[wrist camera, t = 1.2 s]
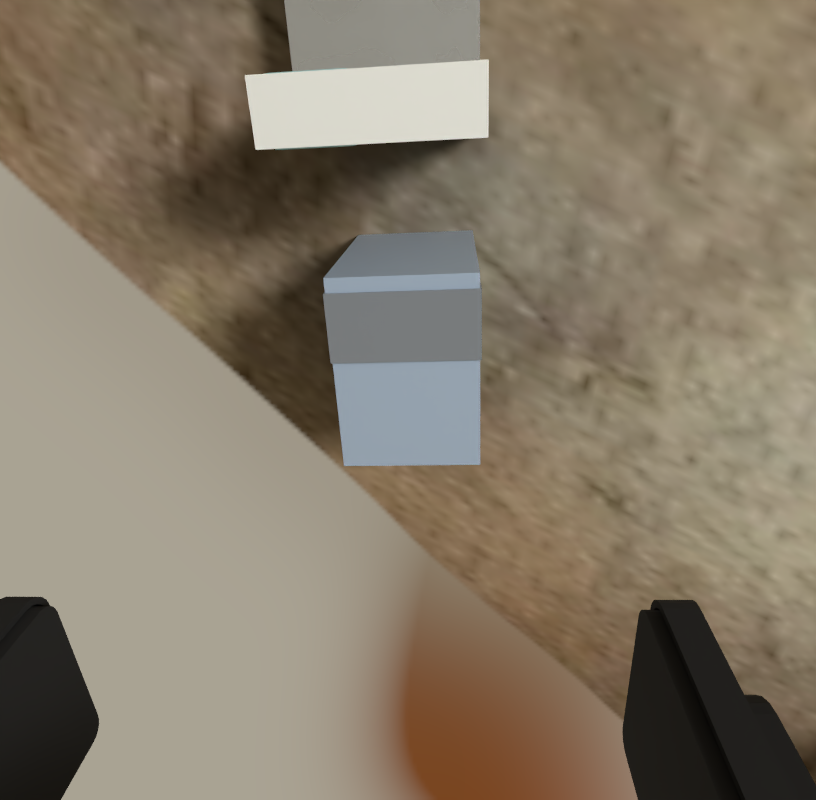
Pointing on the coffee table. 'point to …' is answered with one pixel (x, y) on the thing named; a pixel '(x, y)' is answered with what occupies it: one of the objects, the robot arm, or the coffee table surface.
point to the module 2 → (407, 348)
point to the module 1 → (369, 105)
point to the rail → (381, 32)
